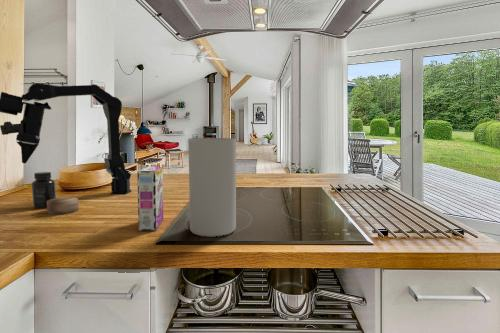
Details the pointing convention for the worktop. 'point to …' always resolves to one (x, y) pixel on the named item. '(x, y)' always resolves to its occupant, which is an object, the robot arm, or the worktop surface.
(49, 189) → the supplement bottle
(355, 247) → the worktop surface
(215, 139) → the cylinder vase
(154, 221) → the candy bar box
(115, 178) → the robot arm
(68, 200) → the walnut plinth
